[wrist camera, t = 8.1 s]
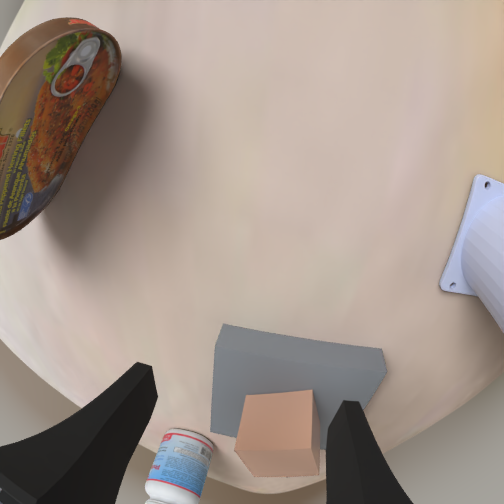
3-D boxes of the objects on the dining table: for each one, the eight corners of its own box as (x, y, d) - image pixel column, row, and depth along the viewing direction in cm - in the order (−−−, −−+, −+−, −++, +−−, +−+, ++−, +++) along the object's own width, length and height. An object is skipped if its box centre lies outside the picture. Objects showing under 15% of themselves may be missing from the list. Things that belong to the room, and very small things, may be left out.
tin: (48, 217, 20) (-28, 266, 13) (27, 193, 20) (-49, 233, 12) (146, 45, 14) (48, 20, 6) (115, 24, 13) (19, 0, 6)
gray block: (380, 343, 21) (387, 371, 18) (334, 426, 26) (334, 450, 24) (224, 318, 22) (215, 346, 19) (217, 408, 27) (210, 431, 25)
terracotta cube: (312, 389, 20) (311, 448, 16) (320, 423, 22) (319, 475, 17) (245, 395, 21) (234, 450, 17) (262, 428, 23) (254, 476, 19)
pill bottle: (162, 421, 30) (129, 501, 20) (214, 434, 29) (189, 520, 19) (169, 444, 32) (142, 514, 22) (215, 455, 32) (194, 529, 22)
